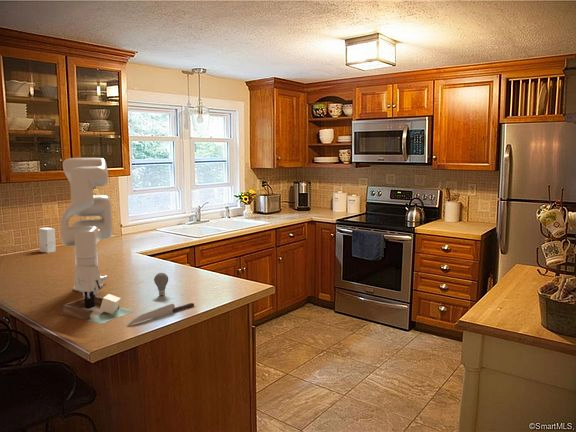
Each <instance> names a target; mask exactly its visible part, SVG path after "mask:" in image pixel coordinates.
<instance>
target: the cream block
mask: <svg viewBox="0 0 576 432" xmlns="http://www.w3.org/2000/svg"><path fill="white" fill-rule="evenodd" d="M121 299H122V298H121V297H118V296H117V295H114V294H110V293H108V294H106V295H105V296H104V298H103V300H102V304H101V307H100V310H102V311H105V312H107V313H110V314H113V313H114V312H115V311H116V310H117V309H118V306H119V307H120V302H121Z"/></svg>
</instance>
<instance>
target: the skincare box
mask: <svg viewBox="0 0 576 432" xmlns="http://www.w3.org/2000/svg"><path fill="white" fill-rule="evenodd" d="M38 240H39V241H38V242H39V244H38V245H39V253H40V252H41V253H45V254H46V253H54V252H57V251H56V247H57V246H56V228H53V227H38Z"/></svg>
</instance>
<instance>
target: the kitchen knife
mask: <svg viewBox="0 0 576 432" xmlns="http://www.w3.org/2000/svg"><path fill="white" fill-rule="evenodd" d="M175 306H176V305H175V304H174V303H170V304H166V305H164V306H161V307H158V308H155V309H153V310H150V311H147V312H144V313H142V314H139V315H138V316H136V317H135V318H133V319H132V320H131V321H129V322H128V324H127V325H126V326H125V327H126V328H128V327H130V326H132V325H134V324H136V323H141V322H144V321H147V320H152V319H156V318H160V317H163V316H167V315H170V314H174V313H177V312H180V310H181V311H184V310H187V309H190V308H193V307H195V303H193V302H190V303H186V304H183V305H180V306H176V307H175ZM186 308H187V309H186ZM183 309H184V310H183ZM173 312H174V313H173ZM169 313H170V314H169Z"/></svg>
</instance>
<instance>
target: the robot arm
mask: <svg viewBox="0 0 576 432" xmlns="http://www.w3.org/2000/svg"><path fill="white" fill-rule="evenodd" d="M62 169H63V173H64V174H65V177H66V178H67V180H68V182H69V184H70V199H71V201H70V204H69V205H68V207H66V209H65V210H64V211H63V213H62V215H61V217H60V224H59V225H60V240H61V243H62V245H64V246H65V247H73V249H74V251H73V252H74V261H75V263H74V264H75V267H74V285H73V291H76V292H80V293H81V294H82V297H83V298H84V300H85V308H87V309H90V308H92V307H94V306H95V303H94V297H95V296H98V295H99V294H100V290H101V289H102V288H103V287H104V283H103V281H106V280H108V278H109V276H108V275H103V276H102V275H101V274H100V273H101V272H100V269H99V257H98V249H97V244H98V243H99V242H100V240H108V239H111V238H112V237H113V231H114V229H113V227H114V226H113V215H112V205H111V204H112V203H111V200H110V198H109V196H107V195H106V194H105V195H104V194H96V195H95V194H94V187H95V188H96V187H105V186H107V185H108V182H109V171H108V167H107V161H106V160H105V159H104V158H103V157H70V158H65V160H63V161H62ZM73 216H75V217H79V218H86V219H78V220H75V221H73V222H72V223H71V226H70V227H69V221H70V219H71V218H72V217H73ZM88 217H90V219H87V218H88ZM91 217H100V218H93V219H92V218H91ZM83 298H82V299H83Z"/></svg>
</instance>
